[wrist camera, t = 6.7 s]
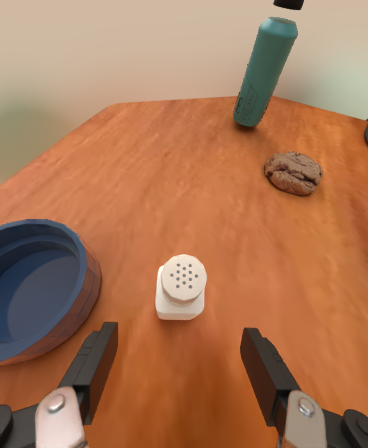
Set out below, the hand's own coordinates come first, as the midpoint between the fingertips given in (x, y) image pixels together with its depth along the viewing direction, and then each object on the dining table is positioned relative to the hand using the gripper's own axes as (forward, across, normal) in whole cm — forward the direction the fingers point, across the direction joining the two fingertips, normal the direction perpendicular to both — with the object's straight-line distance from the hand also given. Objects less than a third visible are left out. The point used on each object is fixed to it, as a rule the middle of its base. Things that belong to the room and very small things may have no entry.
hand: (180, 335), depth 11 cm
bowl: (+9, +14, +3) cm, 17 cm away
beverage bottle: (+36, -14, -24) cm, 45 cm away
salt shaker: (+8, 0, +4) cm, 9 cm away
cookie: (+25, -20, -12) cm, 34 cm away
